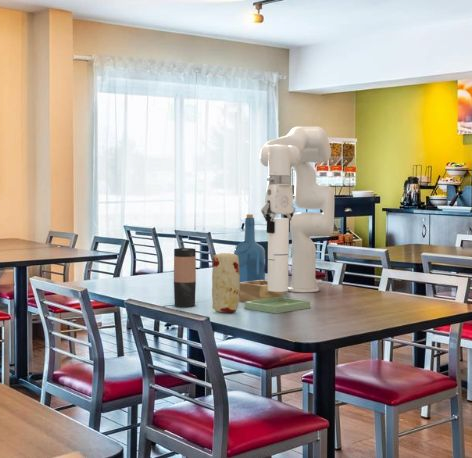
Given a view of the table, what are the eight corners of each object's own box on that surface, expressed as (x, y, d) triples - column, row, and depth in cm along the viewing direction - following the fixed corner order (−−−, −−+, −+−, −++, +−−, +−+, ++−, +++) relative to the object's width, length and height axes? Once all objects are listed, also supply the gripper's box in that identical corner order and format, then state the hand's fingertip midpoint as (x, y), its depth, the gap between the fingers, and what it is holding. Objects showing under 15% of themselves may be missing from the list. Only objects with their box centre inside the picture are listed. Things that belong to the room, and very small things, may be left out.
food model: (208, 312, 260) (208, 253, 259) (216, 309, 266) (217, 251, 265) (235, 314, 257) (236, 254, 255) (243, 311, 263) (243, 252, 262)
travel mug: (199, 304, 277) (199, 248, 275) (190, 308, 269) (190, 250, 268) (179, 303, 279) (179, 247, 278) (170, 306, 272) (170, 249, 271)
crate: (260, 298, 293) (260, 279, 293) (283, 301, 285) (283, 282, 285) (238, 301, 285) (238, 282, 284) (261, 305, 277) (261, 285, 276)
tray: (279, 302, 282) (279, 296, 282) (310, 307, 272) (310, 301, 272) (244, 308, 270) (244, 301, 270) (275, 313, 260) (275, 306, 260)
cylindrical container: (286, 292, 266) (286, 218, 265) (265, 291, 268) (266, 218, 266) (289, 289, 273) (290, 218, 272) (269, 288, 275) (270, 217, 273)
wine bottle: (246, 282, 338) (246, 213, 336) (271, 285, 330) (271, 214, 328) (226, 285, 327) (226, 214, 325) (251, 288, 319) (252, 215, 317)
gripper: (269, 181, 259) (268, 234, 261) (303, 181, 272) (303, 232, 273) (253, 180, 265) (253, 233, 266) (287, 181, 277) (287, 231, 278)
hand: (278, 232), depth 269 cm, fingers closed on cylindrical container, 7 cm apart
